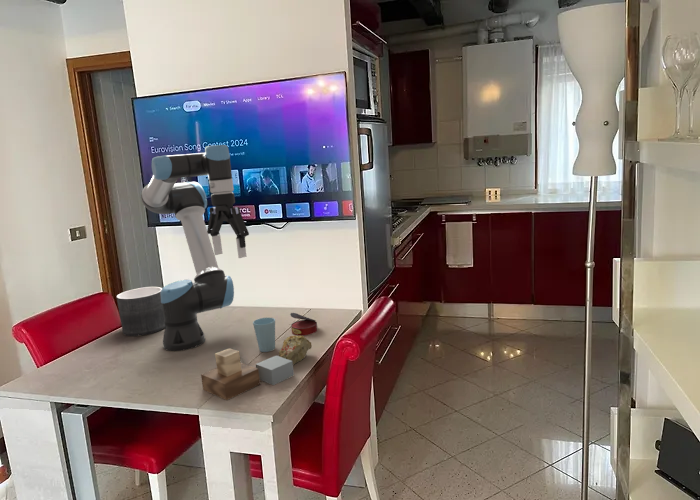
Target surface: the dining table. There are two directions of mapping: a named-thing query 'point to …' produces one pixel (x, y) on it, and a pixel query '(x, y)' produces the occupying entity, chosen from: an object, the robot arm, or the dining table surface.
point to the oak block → (228, 362)
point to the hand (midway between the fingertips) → (230, 255)
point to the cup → (265, 333)
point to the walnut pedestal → (230, 382)
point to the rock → (295, 348)
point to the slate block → (275, 369)
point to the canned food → (303, 325)
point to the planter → (141, 311)
